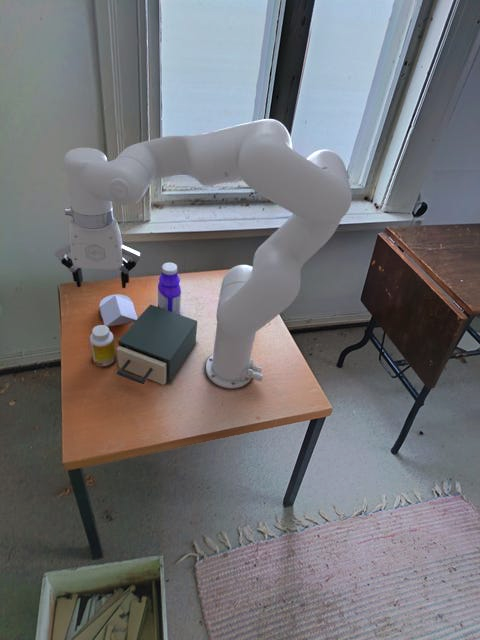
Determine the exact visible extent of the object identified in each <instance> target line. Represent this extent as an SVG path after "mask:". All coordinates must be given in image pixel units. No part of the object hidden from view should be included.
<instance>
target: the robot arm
mask: <svg viewBox="0 0 480 640" xmlns="http://www.w3.org/2000/svg"><path fill="white" fill-rule="evenodd" d="M63 163H64V170H65V171H64V172H65V176H66V181H67V187H68V193H69V199H70V205H71V206H70V207H65V208H64V215H65V216H69V217H71V220H70V221H69V243H68V244H66V245H64V246H61V247H58V248H56V249H55V252H54V255H55V257H56V258H57V259H58V260H59V261H60V262H61V264H62V265H63V266H65V267H66V268H67V269H69V272H70V273H71V274H72V280H73V282H75V283H76V287H77V288H80V287H82V284H83V281H84V276H83V271H82V269H92V270H118V269H119V271H120V279H121V288H122V289H126V287H127V284H129V283H130V271H132V270H133V269H134V268H135V267H136V265H137V264H138V262H139V261H140V259H141V252H139V251H137V250H135V249H133V248H131V247H128V246H126V245H124V244H123V238H122V233H121V229H120V226H119V223H118V220H117V218H115V217H114V209H113V203H114V204H117V205H121V206H127V207H128V206H129V207H130V206H134V205H136V204H138V203H140V201H141V200H142V199H143V197H144V195H145V194H146V192H147V191H148V189H149V187H150V186H151V184H152V183H153V182H154V181H157V180H161V179H165V178H169V177H174V176H188V177H192V178H194V179H195V180H196V181H197V182H198V183H199V184H200V185H202V186H206V187H211V186H216V185H219V184H224V183H228V182H229V183H230V182H234V181H237V180H242V181H243V182H244V183H245V184H246V185H247V186H248V187H249V188H250V189H252V190H253V191H254V192H256V193H257V194H259V195H261V196H262V197H263V198H265V199H267V200H269V201H270V202H272V203H274V204H276V205H278V206H279V207H281V208H283V209H285V210H286V211H288V212H290V213H291V215H290V216H289V217H288V218H287V220H286V221H285V222H284V223H283V224H282V225H281V226H280V227H278V229H277V230H275V231H274V232H273V233H272V234H271V235H270V236H269V237H268V238H267V239H266V240H265V241H264V242H263V243H261V245H260V246H259V247H258V248H257V249H256V250H255V252H254V255H253V261H252V265H249V264H239V265H235V266H233V267H231V268H230V269H229V270H228V271H227V272H226V274H225V275H224V276H223V278H222V282H221V286H220V291H219V296H218V297H219V298H218V302H217V307H216V314H215V315H216V316H215V317H216V330H215V337H214V338H215V339H214V345H213V353H212V354H210V356H209V357H208V358H207V359H206V362H205V372H206V375H207V377H208V379H209V380H210V381H211V382H212V383H214V384H215V385H217V386H219V387H221V388H225V389H238V388H241V387H244V386H245V385H247V384H248V383H249V382H250V381H251V379H253V380H256V381H258V382H260V383H262V382H263V380H264V377H265V374H262V373H261V372H262V371H263V367H262V366H259V365H256V364H255V363H253V361H254V357H252V352H253V348H254V342H255V338H256V333H257V332H258V331H259V330H261V329H262V328H263V327H265V326H266V325H267V324H269V323H270V322H271V321H272V320H274V319H275V318H276V317H277V316H279V315H280V314H281V313H283V312H284V311H285V310H286V309H288V308H289V307H290V306H291V305H292V304H293V303H294V301H295V300H296V299H297V297H298V295H299V293H300V289H301V283H302V281H301V279H302V278H301V277H302V276H301V275H302V273H301V271H302V268H303V266H304V265H305V264H306V262H308V261H309V260H310V259H311V258H312V257H313V256H314V255H315V254H317V252H319V250H320V249H321V248H323V247H324V246H325V245H326V244H327V243H328V241H329V240H330V239H331V238H332V236H333V235H334V234H335V232H336V231H337V229H338V228H339V225H340V223H341V221H342V219H343V218H344V217H345V216H347V213H348V212H349V210H350V208H351V204H352V200H353V199H352V198H353V197H352V196H353V193H352V188H351V184H350V181H349V180H350V179H349V176H348V172H347V169H346V164H345V162H344V160H343V159H342V158H341V156H340V155H339V154H337V153H336V152H335V151H333V150H330V149H320V150H317V151H314V152H313V153H311V154H310V155H309V156H308V157H304V156H303V155H301V153H298V152H297V151H296V150H294V149H293V143H292V138H291V135H290V132H289V131H288V129H287V127H286V126H285V125H284V124H283V123H282V122H280V121H279V120H277V119H273V118H264V119H257V120H253V121H250V122H246V123H242V124H241V123H240V124H237V125H234V126H229V127H225V128H221V129H217V130H213V131H209V132H204V133H200V134H195V135H194V134H193V135H188V134H187V135H168V136H167V135H166V136H162V137H161V136H160V137H158V138H152V139H149V140H145V141H140V142H138V143H134V144H131V145H129V146H128V147H125V149H123V150H122V151H121V152H120V153H119V154H118V155H117V156H116V158H114V159H113V160H110V161H109V160H108V158H107V156H106V154H105V153H104V152H103V151H101V150H99V149H97V148H92V147H76V148H72V149H70V150H68V151H66V154H65V155H64V159H63ZM68 254H70V256H71V257H69V256H67V255H68ZM124 256H128V257H130V258H131V259H130V260H128V261H127V260H126V258H124Z"/></svg>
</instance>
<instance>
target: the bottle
mask: <svg viewBox="0 0 480 640" xmlns="http://www.w3.org/2000/svg"><path fill="white" fill-rule="evenodd" d="M158 281H159V282H158V284H157V307H159V308H162V309H165V310H168V311H171V312H173V313H176V314H179V315H181V299H182V298H181V297H182V295H181V294H182V287H181V286H180V285H181V284H180V283H181V279H180V276H179V274H178V265H177V264H175V263H173V262H165V263H163V264H162V265H161V274H160V276H159V278H158Z"/></svg>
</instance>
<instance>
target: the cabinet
mask: <svg viewBox="0 0 480 640" xmlns="http://www.w3.org/2000/svg"><path fill="white" fill-rule="evenodd" d="M197 329H198V320H195V319H193V318H190V317H187V316H185V315H182V314H180V315H179V314H176V313H173V312H171V311H168V310H165V309H162V308H159V307H158V306H156V305H153V304H149V305H148V306H147V308H145V310H144V311H143V312H142V313H141V314H140V315H139V316H138V319H137V320H136V321H135V322H132V324H131V325H130V327H128V329H127V330H126V331H125V332H124V333H123V334H122V336H121V337H120V338H119V339H118V341H117V343H118V347H119V346H121V347H124V348H125V346H127V347H130V348H133V349H135V350H138V351H141V352H143V353H146V354H149V355H151V356H154V357H157V358H159V359H162V360H165V361H167V376H166V383H168V384H170V383H171V382H172V381H173V379H174V378H175V375H176V374H177V372H178V371H179V370H180V368H181V367H182V365H183V363H184V362H185V360H186V359H187V357H189V355H190V353H191V352H192V350H193V348H194V347H195V345H196V343H197V332H198V331H197Z"/></svg>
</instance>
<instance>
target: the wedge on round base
mask: <svg viewBox="0 0 480 640" xmlns="http://www.w3.org/2000/svg"><path fill="white" fill-rule="evenodd" d="M99 311H100V317H101V319H102V321H103V325H105V326H107V327H108V328H109V327H114V326H120V325H125V324H130V323H131V324H133V323H134V322H135V321H136V320H137V319H138V318H139V316H138V315H137V312H136V309H135V306H134V303H133V301H132V299H131V298H130V296H129V297H128V296H127V295H124V294H119V293H118V294H111V295H107V296H105V297H103V298H102V299H101V300H100V302H99Z"/></svg>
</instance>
